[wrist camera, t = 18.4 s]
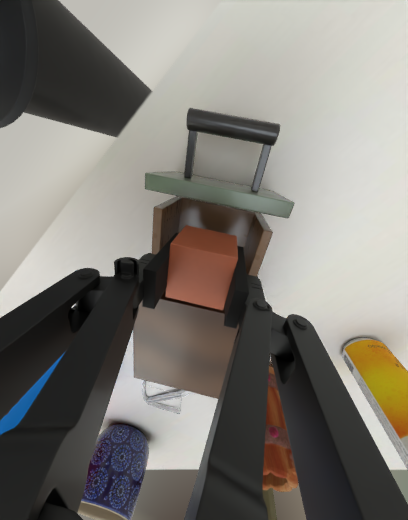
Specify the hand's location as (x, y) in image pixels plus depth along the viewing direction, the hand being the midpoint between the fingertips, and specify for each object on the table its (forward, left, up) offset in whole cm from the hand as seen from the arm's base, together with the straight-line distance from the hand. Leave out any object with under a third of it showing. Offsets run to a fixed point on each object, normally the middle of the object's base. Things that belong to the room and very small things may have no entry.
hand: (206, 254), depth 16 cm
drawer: (-1, 0, -8) cm, 8 cm away
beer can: (+15, +27, -9) cm, 32 cm away
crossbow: (+41, -2, -9) cm, 42 cm away
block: (0, 0, 0) cm, 0 cm away
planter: (+69, -13, -9) cm, 71 cm away
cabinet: (+13, 0, -9) cm, 15 cm away
